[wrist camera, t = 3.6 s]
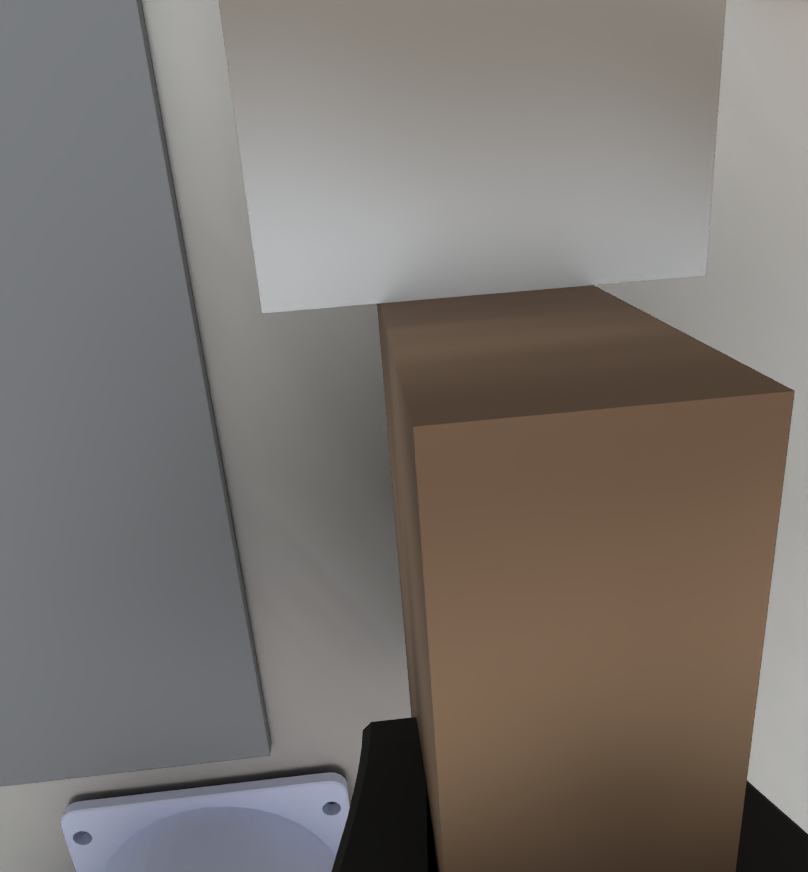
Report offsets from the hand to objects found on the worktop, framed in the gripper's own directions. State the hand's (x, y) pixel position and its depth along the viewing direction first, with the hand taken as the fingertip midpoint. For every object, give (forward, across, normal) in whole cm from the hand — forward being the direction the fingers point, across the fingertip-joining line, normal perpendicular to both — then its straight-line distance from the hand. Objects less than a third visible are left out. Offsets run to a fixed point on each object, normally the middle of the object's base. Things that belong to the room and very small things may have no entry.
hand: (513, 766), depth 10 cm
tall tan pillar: (+2, 0, -2) cm, 3 cm away
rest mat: (+9, +9, -2) cm, 13 cm away
